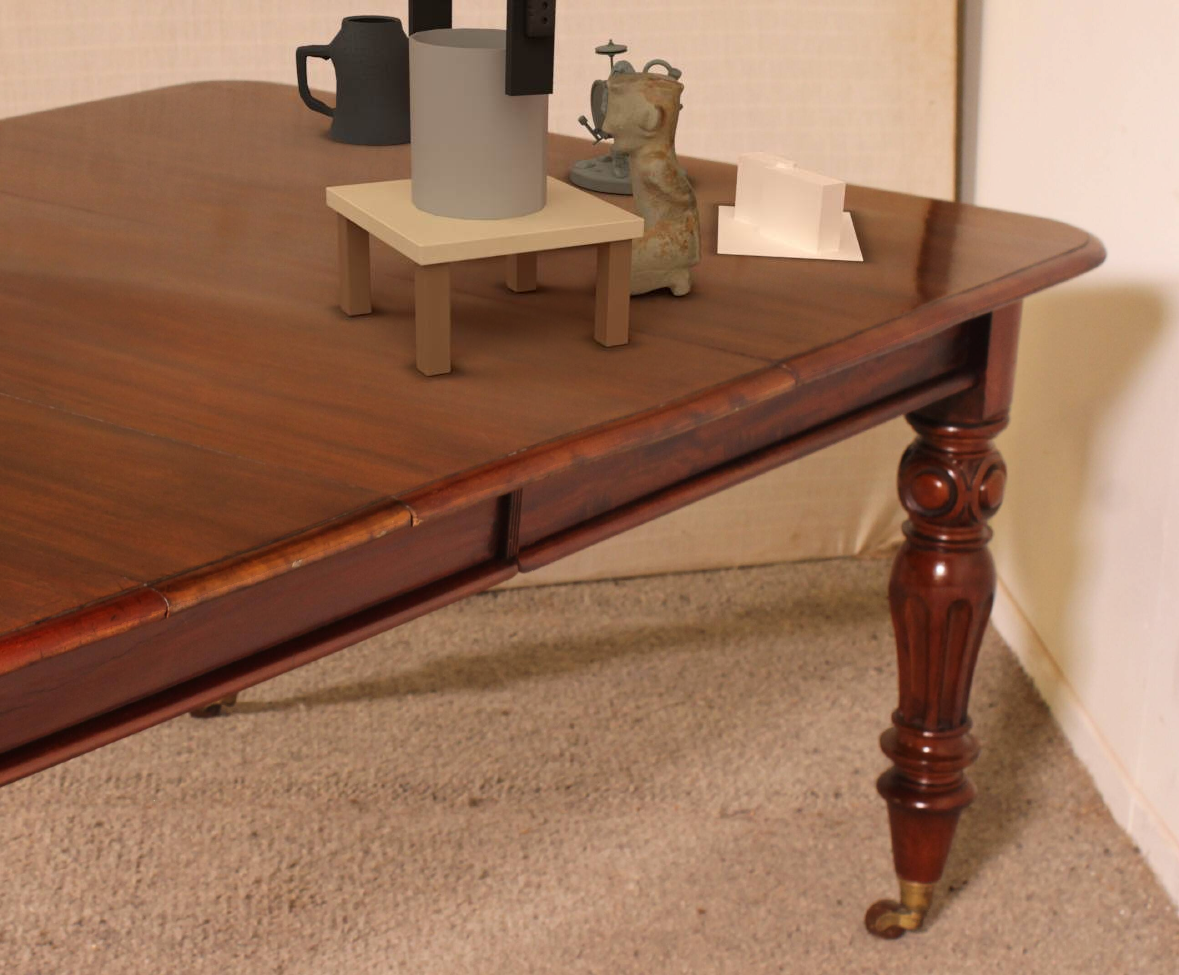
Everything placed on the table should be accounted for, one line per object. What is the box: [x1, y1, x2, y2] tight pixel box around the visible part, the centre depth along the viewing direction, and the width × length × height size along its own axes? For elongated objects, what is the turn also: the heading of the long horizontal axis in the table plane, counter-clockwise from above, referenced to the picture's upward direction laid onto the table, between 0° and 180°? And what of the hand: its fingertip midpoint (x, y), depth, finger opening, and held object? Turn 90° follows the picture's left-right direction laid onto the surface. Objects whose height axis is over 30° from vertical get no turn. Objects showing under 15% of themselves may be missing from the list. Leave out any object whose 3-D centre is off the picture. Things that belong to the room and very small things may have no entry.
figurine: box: [569, 38, 688, 195], centre depth 133 cm, size 11×11×12 cm
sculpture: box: [595, 71, 702, 297], centre depth 102 cm, size 6×7×15 cm
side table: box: [325, 174, 644, 377], centre depth 96 cm, size 15×15×8 cm
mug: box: [295, 14, 411, 146], centre depth 147 cm, size 12×9×11 cm
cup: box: [409, 27, 550, 220], centre depth 92 cm, size 8×8×10 cm
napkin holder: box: [717, 151, 864, 262], centre depth 120 cm, size 15×11×6 cm
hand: (476, 75), depth 90 cm, fingers open, 13 cm apart
